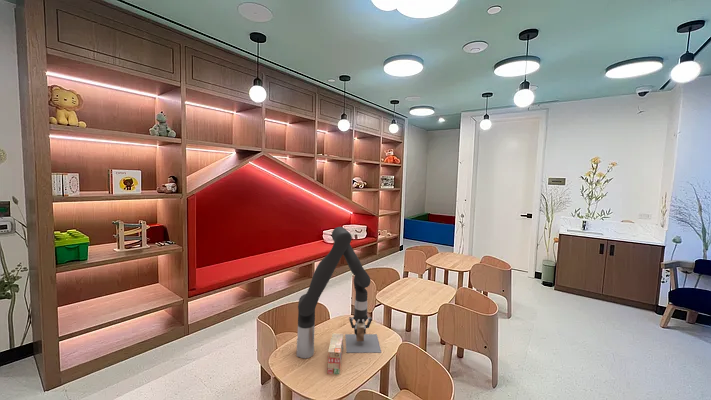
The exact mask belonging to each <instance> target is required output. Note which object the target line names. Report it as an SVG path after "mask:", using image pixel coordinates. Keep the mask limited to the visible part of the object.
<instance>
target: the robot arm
mask: <svg viewBox="0 0 711 400" xmlns="http://www.w3.org/2000/svg"><path fill="white" fill-rule="evenodd" d="M331 238H332V241H333V242H334V243H333V245H332V247H331V249H330V251H329V253H328V254H326V255H325V256H324V257H323V258H322V259H321V260H320V261H319V263H318V264H317V266H316V269H315V270H314V272H313V275H312V277H311V281H310V285H309V288H308V290H307V292H306V293H304V294H302V295H301V296H300V297H299V299H298V304H297V310H298V311H297V312H298V313H297V338H296V357H297V358H298V357H299V358H301V359H308V358H311V357H313V356H314V354H315V326H316V325H315V323H316V322H315V321H316V315H315V314H316V307H317V304H318V302H319V300H320V297H321V295H322V294H323V291H324V290H325V288H327V287H326V286H327V285H328V283H329V281H330V280H331V278H332V276H333V274H334V272H335V270H336V268H337V266H338V264H339V262H340V260H341V258H342V257H344V259H345V262H346V263H347V265H348V267H349V270H350V272H351V273H352V275H354V276H353V285H354V289H355V290H354V291H355V298H354V299H355V300H354V314H353V316H349V318H348V320H349V323H350V326H351V329H354V330H353V331H354V332H353V333H354V334H356V335H357V323H364V334H367V333H366V330H367V329H369V328H370V327H371V323H372V321H373V320H372V318H373V317H372V316H368V306H369V305H368V304H369V303H368V290H367V289H366V288H369V286H370V285H371V277H370V275H369V273H368V272H367V271H366V269H365V268H364V267H363V264H362V263H361V260H360V259H359V256H358V255H357V254H356V252H355V250H354V248H353V247H352V245H351V242H352V239H353V238H352V234H351V233H350V232H349V230H348V229H346V228H345V227H343V226H338V227H335V228H334V229H333V230H332V232H331ZM354 321H355V323H354ZM366 321H367V323H366Z"/></svg>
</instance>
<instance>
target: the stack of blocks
mask: <svg viewBox="0 0 711 400" xmlns="http://www.w3.org/2000/svg"><path fill="white" fill-rule="evenodd" d="M343 349H344V333H336V332H335V333H332V337H330V342H329V347H328V351H327V372H326V373H327V374H329V375H340V372H341V367H342V357H343Z"/></svg>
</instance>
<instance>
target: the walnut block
mask: <svg viewBox="0 0 711 400" xmlns="http://www.w3.org/2000/svg"><path fill="white" fill-rule="evenodd" d="M356 338H357V341H364V323H357V335H356Z"/></svg>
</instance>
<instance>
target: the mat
mask: <svg viewBox="0 0 711 400" xmlns="http://www.w3.org/2000/svg"><path fill="white" fill-rule="evenodd" d="M344 337H345V350H346V354H377V353H378V354H382V349H381V345H380V341H379V338H378V335H377V333H369V334H368V333H365V334H364V341H357V338H356V334H355V333H354V334H353V333H350V334H349V333H345V334H344Z"/></svg>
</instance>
